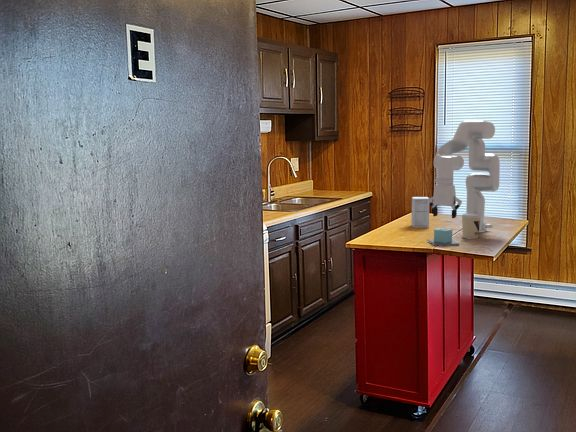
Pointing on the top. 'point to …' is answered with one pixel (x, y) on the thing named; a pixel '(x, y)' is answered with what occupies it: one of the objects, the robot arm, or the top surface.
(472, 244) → the top surface
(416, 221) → the supplement box
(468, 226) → the coffee cup
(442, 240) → the collar
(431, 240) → the shaft stand
